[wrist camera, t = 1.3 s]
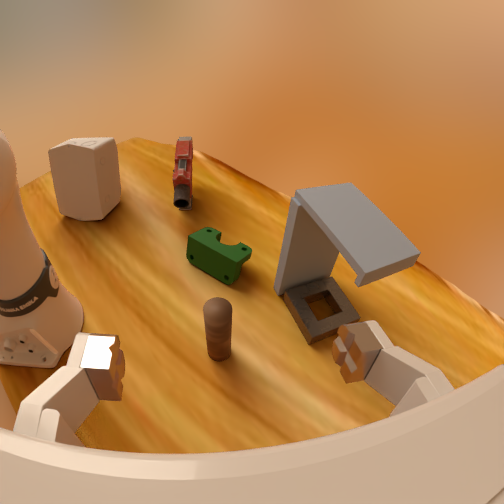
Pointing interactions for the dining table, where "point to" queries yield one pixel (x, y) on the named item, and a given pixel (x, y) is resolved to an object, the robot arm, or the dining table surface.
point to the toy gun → (183, 174)
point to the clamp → (216, 255)
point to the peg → (218, 328)
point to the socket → (305, 317)
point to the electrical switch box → (86, 177)
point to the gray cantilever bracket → (339, 238)
